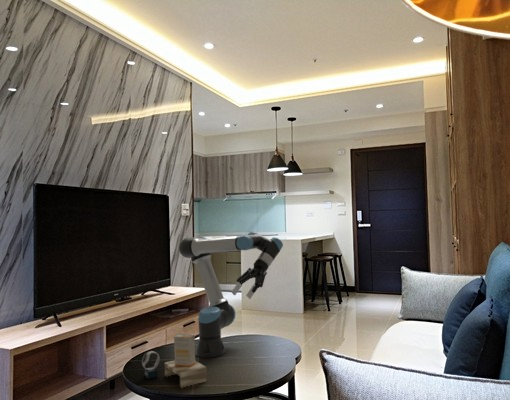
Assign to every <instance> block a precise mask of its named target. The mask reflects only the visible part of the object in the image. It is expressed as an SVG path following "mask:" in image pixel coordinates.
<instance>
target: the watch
mask: <svg viewBox="0 0 510 400" xmlns="http://www.w3.org/2000/svg"><path fill="white" fill-rule="evenodd" d="M152 354H156V356H157V358H156V361H155V363H154V364H153V366H151V367H146V365H147V364H148V362H149V360H150V357H151V355H152ZM160 360H161V358H160V354H159V353H157V352H156V351H153V350H150V351H147V352H145V353H144V354H143V356H142V358H141V364H142V365H141V366H142V367H143V369H144V377H145V378H147V379H148V380H150V378H152V379H155V378H154V377H156V378H158V377H159V376H158V375H159V374H158V371H159V370H158V369H157V368H158V366H159V364H160Z"/></svg>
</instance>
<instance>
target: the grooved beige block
mask: <svg viewBox="0 0 510 400" xmlns="http://www.w3.org/2000/svg"><path fill="white" fill-rule="evenodd" d="M207 373H208V372H207V366H205V365H204V364H202V363H200V362H198V361H197V360H195V364H194V365H193V366H191V367H187V366H175V359H174V360H169V361H166V362H164V377H165V376H166V378H168V376H169V377H172V376H171V375H173V376H176V374H177V376H179V387H180V388H181V389H184V388H183V387H185V388H187V387H186V386H188V387H191V386H190V385H192V386H195V385H199V384H201V383H206V382H207V381H208V378H207V377H208V376H207ZM198 383H199V384H198ZM194 384H195V385H194Z"/></svg>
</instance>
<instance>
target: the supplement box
mask: <svg viewBox="0 0 510 400" xmlns="http://www.w3.org/2000/svg"><path fill="white" fill-rule="evenodd" d="M195 341H196V340H195V334H193V333H191V334H187V333H178V334H175V336H173V345H174V347H173V348H174V350H173V351H174V360H175V366H187V367H191V366H193V365H194V364H195V361H196V347H195V346H196V345H195Z"/></svg>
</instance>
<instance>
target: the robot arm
mask: <svg viewBox="0 0 510 400" xmlns="http://www.w3.org/2000/svg"><path fill="white" fill-rule="evenodd" d="M283 247H284V244H283V241H282V240H281V239H279V238H278V237H274V236H273V237H272V238H271V239H269V238H268V237H266V236H263V235H261V234H259V233H258V232H255V231H249V232H248V234H245V235H239V236H227V237H226V236H225V237H217V238H216V237H215V238H207V237H204V236H195V237H194V236H193V237H186V238H185V237H184V238H183V239H182V240H181V241H180V243H179V244H178V251H179V253H180V255H181V256H182V257H184V258H185V259H186V258H187V259H191V262H192V263H193V264H195V266H196V269H197V271H198V274H199V278H200V279H201V282H202V285H203V288H204V291H205V295H206V298H207V300H208V303H209V305H208V307H204V308H202V309H200V310H199V312H198V319H197V320H198V343H197V345H196V348H195V356H196V357H199V358H203V359H211V358H217V357H221V356H223V355H225V353H226V352H225V350H226V349H225V345H224V343H223V340H222V333H221V331H222V329H223V328H226V327H228V326H230V325H232V323H233V322H234V321H235V318H236V310H235V308H234V306H232V305H231V304H229V301H228V300H229V299H226V298H225V297H224V295H223V292H222V290H221V287H220V284H219V280H218V278H217V276H216V273H215V270H214V268H213V267H214V266H213V264H212V261H211V257H212V253H225V252H234V251H249V250H254V249H256V250H258V251H260V252H261V253H260V254H259V255H258V257H257V259H256V260H255V261H254V263H253V268H252V267H248V269H247V270H246V271H245V272H243V274H241V275H240V276H239V277H238V278H237V279H236V281H237V283H236V284H235V286H234V287H233V289H232V290H231V292H230V293H231V295H232V294H233V296H236V295H237V293H238V292H239V291H240V289H241V288H242V286H243V284H245V283H247V282H248V281H249V280H250V279H254V283H253V285H252V286H251V288H250V289H249V290H248V291H247V293H246V297H247V298H248V299H249V300H250V299H252V297H253V295H254V294H255V293H256V291H257V290H258V289H259V288H263V286H264V283H265V279H266V275H267V274H268V272H267V271H268V269H269V267H270V266H271V265H272V264H273V262H274V260H275V259H276V257H277V256H278V255H279V253H280V252H281V250H282V248H283ZM236 281H235V282H236Z"/></svg>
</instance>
